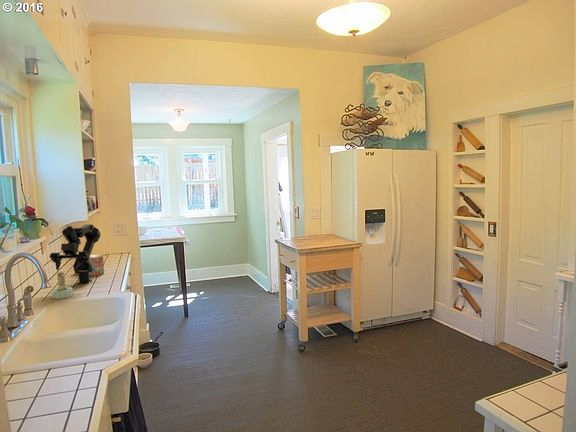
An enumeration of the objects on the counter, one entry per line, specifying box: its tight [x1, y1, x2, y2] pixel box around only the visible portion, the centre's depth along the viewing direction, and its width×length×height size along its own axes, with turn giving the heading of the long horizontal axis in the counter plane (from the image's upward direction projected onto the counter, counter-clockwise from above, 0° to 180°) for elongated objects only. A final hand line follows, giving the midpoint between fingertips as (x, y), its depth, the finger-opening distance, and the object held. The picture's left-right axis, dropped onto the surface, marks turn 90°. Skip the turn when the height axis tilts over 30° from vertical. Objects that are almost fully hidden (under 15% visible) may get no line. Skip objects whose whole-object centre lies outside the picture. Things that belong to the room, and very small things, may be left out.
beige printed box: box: [89, 254, 105, 277], centre depth 254 cm, size 21×6×12 cm, turn 60°
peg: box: [56, 271, 67, 291], centre depth 200 cm, size 3×3×12 cm
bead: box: [51, 286, 74, 300], centre depth 200 cm, size 9×9×4 cm
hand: (66, 269), depth 206 cm, fingers open, 9 cm apart
